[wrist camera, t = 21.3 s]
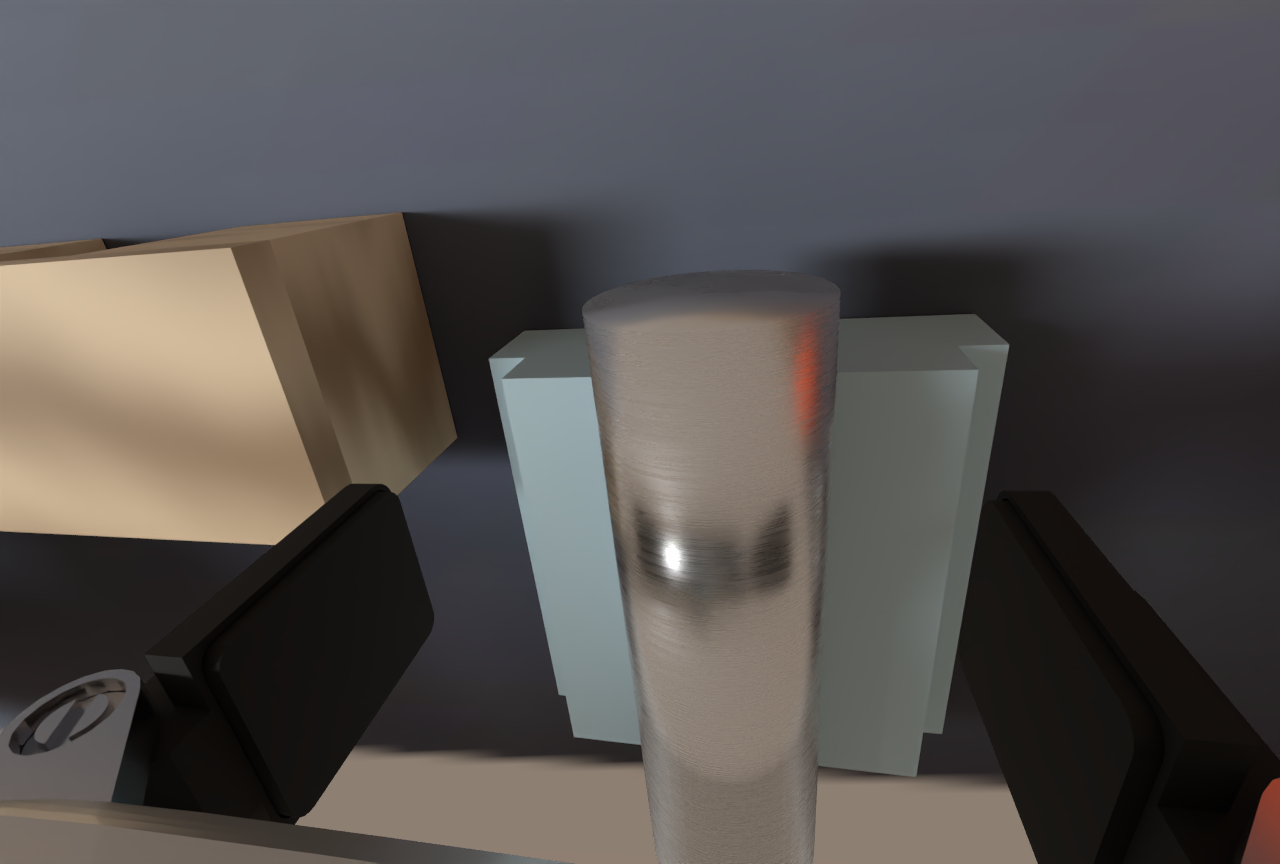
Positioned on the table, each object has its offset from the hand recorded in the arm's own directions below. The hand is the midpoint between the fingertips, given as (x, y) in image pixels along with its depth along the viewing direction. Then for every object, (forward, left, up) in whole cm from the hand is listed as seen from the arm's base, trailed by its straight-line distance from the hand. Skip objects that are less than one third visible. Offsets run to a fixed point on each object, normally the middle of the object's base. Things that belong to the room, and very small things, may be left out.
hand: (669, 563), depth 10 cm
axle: (-3, -3, -5) cm, 6 cm away
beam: (-9, +14, -8) cm, 19 cm away
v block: (-3, -3, -8) cm, 9 cm away
